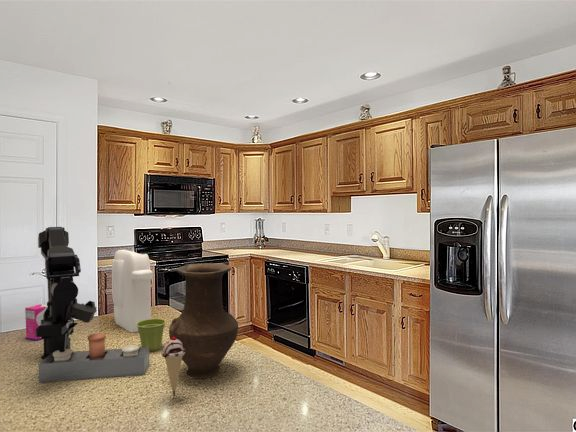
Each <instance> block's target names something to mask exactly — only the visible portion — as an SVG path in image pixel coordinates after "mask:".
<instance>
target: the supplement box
mask: <svg viewBox="0 0 576 432" xmlns="http://www.w3.org/2000/svg"><path fill="white" fill-rule="evenodd" d="M47 307H48V306H47V304H43V303H41V304H40V303H39V304H36V305H32V306H28V307H25V308H24V312H25V335H26V336H25V337H26V338H25V339H26V340H30V341H34V342H37V341H41V340H42V339H41V337H36V332H35V329H36V328H37V327H39V326H40V325H41V320H42V319H43V314H44V312H45V311H46V309H47Z"/></svg>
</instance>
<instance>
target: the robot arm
mask: <svg viewBox="0 0 576 432" xmlns="http://www.w3.org/2000/svg"><path fill="white" fill-rule="evenodd" d="M69 239H70V237H69V232H68V231H66V230H65V227H62V226H48V227H45V230H43V231H41V232H39V233H38V236H37V247H38V248H39V249H40V254H41V256H42V257H43V258H44V269H45V278H46V280H47V281H46V282H47V302H46V305H47V306H48V307H47V309H46V311H45V312H44V314H43V319H42V320H41V325H40V326H39V327H37V328H36V329H35V332H36V337H41V340H43V355H42V356H40V357H41V359H45V358H46V357H47V356H48V355H49V354H51V353H53V352H55V351H57V350H59V351H60V352H64V351H65V349H71V350H72V348H71V338H70V335H73V333H74V328H75V327H76V326H77V325H78V322H75V320H78V321H81V322H83V323H85V324H89V323H90V322H91V321H93V319H94V318H95V314H96V313H97V307H96V304H95V301H92V300H89V301H87V302H85V304H84V303H79V302H78V299H77V297H78V295H79V287H78V286H77V285H76V283H75V282H74V277H80V273H81V271H82V270H81V269H82V268H81V260H80V258H79V257H78V255H77V254H75V251H74V249H73V248H72V247H69V244H70V240H69Z"/></svg>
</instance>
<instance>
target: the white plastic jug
mask: <svg viewBox="0 0 576 432" xmlns="http://www.w3.org/2000/svg"><path fill="white" fill-rule="evenodd" d="M153 278H154V271H153V270H151V262H150V257H149V255H148V254H147V253H143V254H142V253H138V252H135V251H132V250H127V249H118V250H117V251H115V253H114V257H113V260H112V264H111V295H112V302H113V316H114V321H115V324H116V325H117V326H119V327H121V328H122V329H124V330H125V331H127V332H130V333H139V330H138V327H137V326H136V323H138V322H140V321H143V320H147V319H152V313H151V310H152V306H151V303H152V301H151V300H152V297H151V294H152V293H151V289H152V288H151V285H152V284H151V281H152V279H153Z"/></svg>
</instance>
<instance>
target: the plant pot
mask: <svg viewBox="0 0 576 432" xmlns="http://www.w3.org/2000/svg"><path fill="white" fill-rule="evenodd" d="M166 323H167V321H166V320H165V319H163V318H151V319H147V320H143V321H140V322H138V323H136V326H137V327H138V330H139V332H138V333H139V339H140V345H141V347H149V352H155V351H159V350H160V349H161V347H162V344H163V334H164V329H165V325H166Z"/></svg>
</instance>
